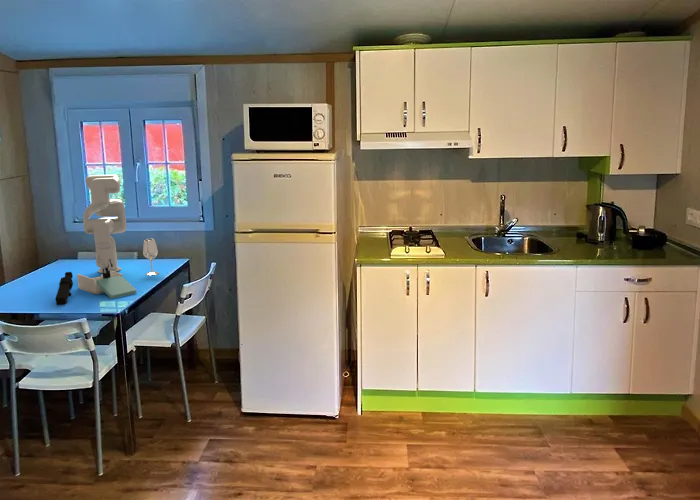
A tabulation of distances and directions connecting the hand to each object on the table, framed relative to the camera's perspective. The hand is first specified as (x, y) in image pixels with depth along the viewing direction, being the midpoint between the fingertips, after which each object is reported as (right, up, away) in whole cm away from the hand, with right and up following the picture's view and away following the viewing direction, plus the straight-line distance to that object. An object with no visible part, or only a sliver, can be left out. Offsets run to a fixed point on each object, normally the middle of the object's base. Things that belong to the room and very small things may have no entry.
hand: (107, 280), depth 309 cm
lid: (+7, -4, -5) cm, 9 cm away
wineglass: (+11, +2, +36) cm, 38 cm away
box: (-6, -5, +7) cm, 10 cm away
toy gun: (-16, -9, -11) cm, 21 cm away
